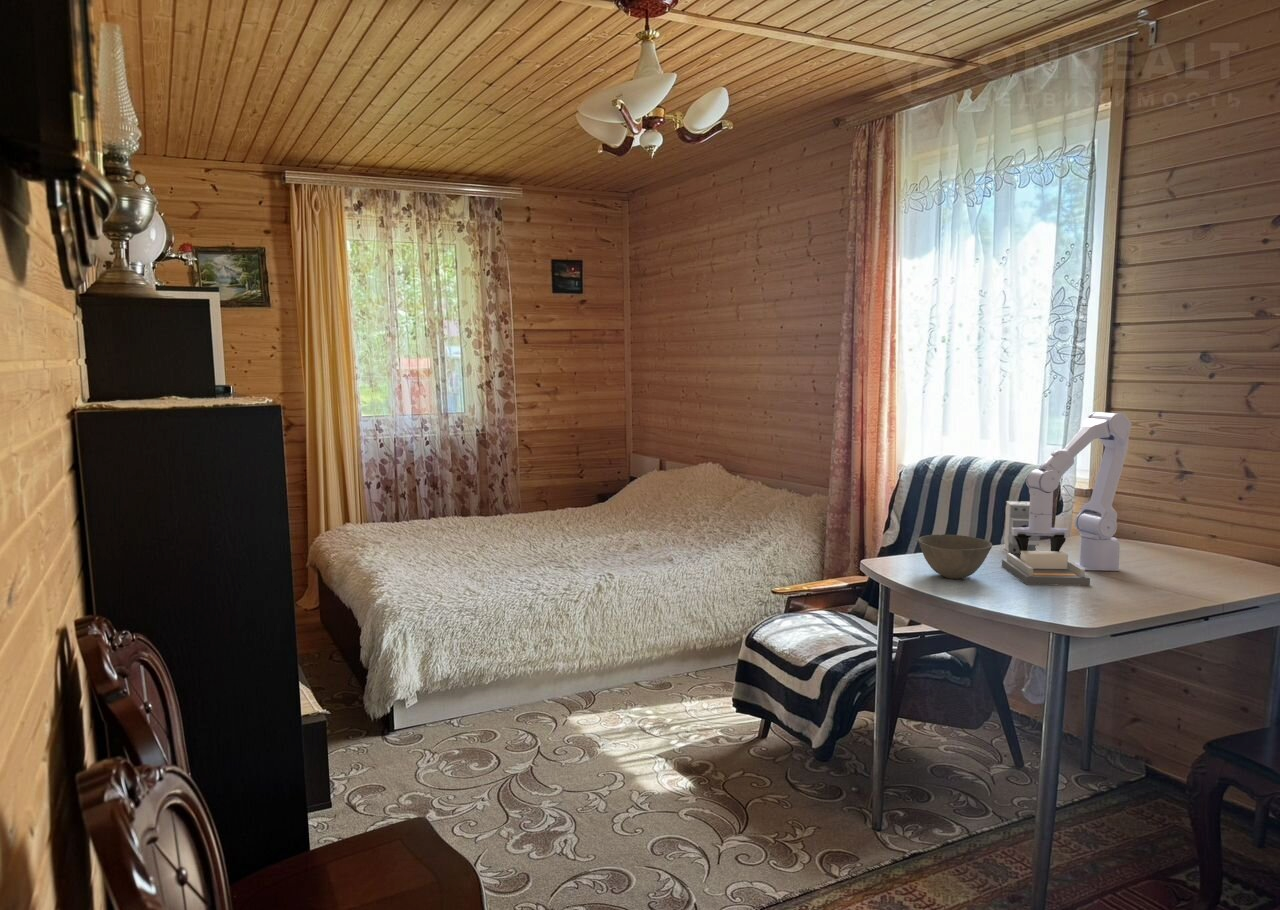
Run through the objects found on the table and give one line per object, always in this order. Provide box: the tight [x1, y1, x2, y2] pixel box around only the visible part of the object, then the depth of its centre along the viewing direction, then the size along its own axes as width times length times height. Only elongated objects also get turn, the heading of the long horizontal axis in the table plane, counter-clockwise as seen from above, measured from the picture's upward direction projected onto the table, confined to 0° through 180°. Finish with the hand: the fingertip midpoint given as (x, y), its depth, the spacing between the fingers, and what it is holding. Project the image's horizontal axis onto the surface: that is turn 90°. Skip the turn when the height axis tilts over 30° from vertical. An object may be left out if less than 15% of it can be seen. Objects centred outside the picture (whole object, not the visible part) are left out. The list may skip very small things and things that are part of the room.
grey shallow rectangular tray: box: [1001, 552, 1091, 586], centre depth 229 cm, size 16×20×4 cm
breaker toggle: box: [1019, 550, 1069, 569], centre depth 229 cm, size 11×4×4 cm, turn 84°
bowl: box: [917, 533, 993, 580], centre depth 228 cm, size 19×19×10 cm
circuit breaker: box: [1003, 500, 1041, 553], centre depth 255 cm, size 8×14×15 cm, turn 166°
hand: (1038, 561), depth 233 cm, fingers open, 7 cm apart
